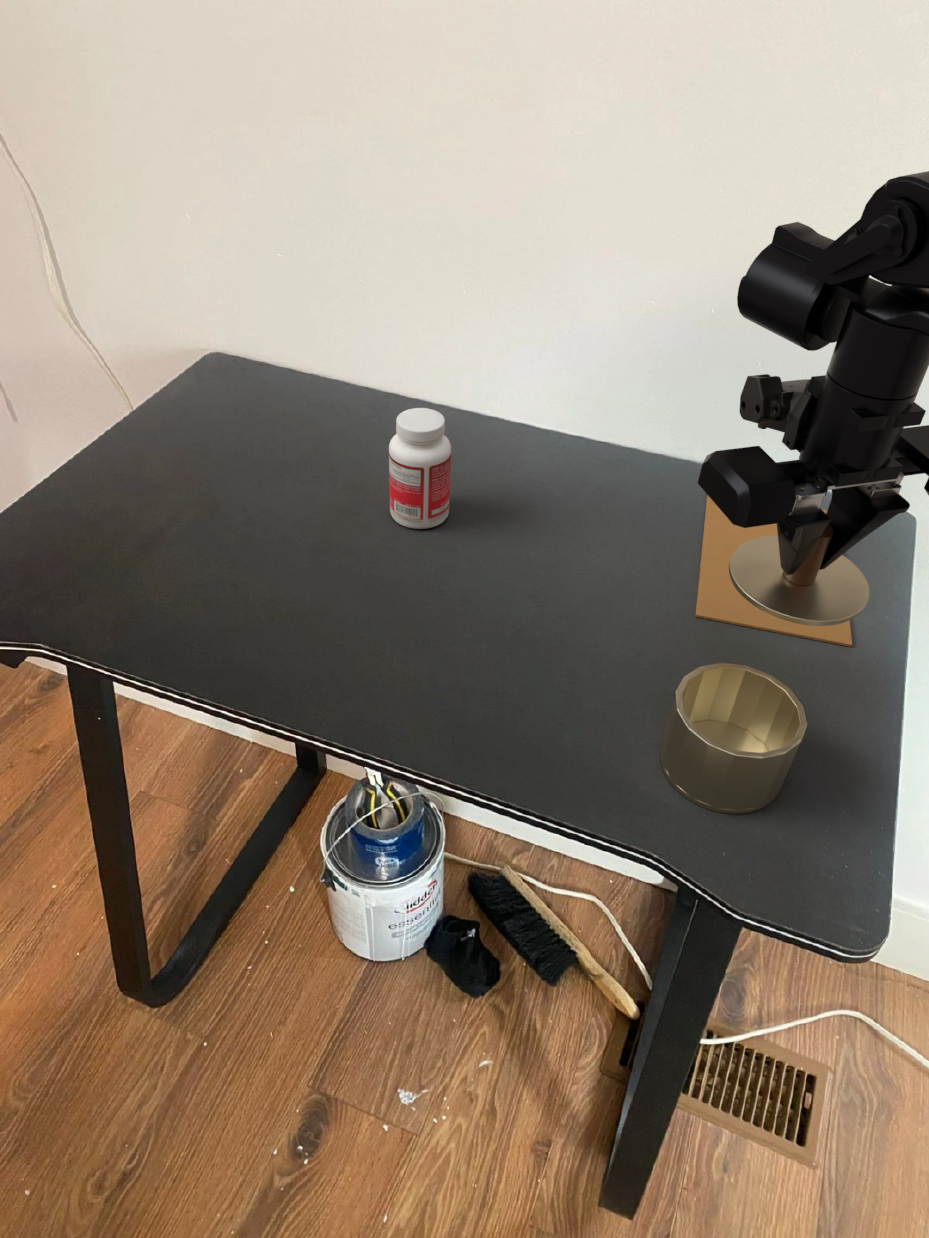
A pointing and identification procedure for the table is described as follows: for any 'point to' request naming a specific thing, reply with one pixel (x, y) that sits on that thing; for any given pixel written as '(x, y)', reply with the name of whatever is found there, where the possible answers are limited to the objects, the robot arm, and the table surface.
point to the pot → (731, 737)
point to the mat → (723, 597)
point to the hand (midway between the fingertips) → (802, 568)
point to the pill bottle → (419, 469)
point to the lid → (799, 583)
